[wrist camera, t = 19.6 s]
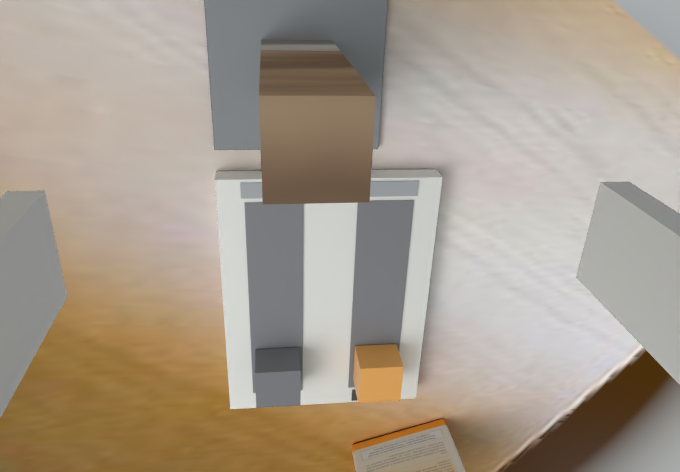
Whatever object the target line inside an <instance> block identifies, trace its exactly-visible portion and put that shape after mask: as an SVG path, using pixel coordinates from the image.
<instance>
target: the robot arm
mask: <svg viewBox="0 0 680 472" xmlns="http://www.w3.org/2000/svg"><path fill="white" fill-rule="evenodd" d="M576 278H577V279H578V280H579V281H580V282H581V283H582V284H583V285H584V286H585V287H586V288H587V289H588V290H589V291H590V292H591V293H592V294H593V295H594V296H595V297H596V298H597V299H598V300H599V301H600V302H601V303H602V305H603V306H604V307H605V308H606V309H607V310H608V311H609V312H610V313H611V314H612V315H613V316H614V317H615V318H616V319H617V320H618V321H619V322H620V323H621V324H622V325H623V326H624V327H625V328H626V329H627V331H628V332H629V333H630V334H631V335H632V336H633V337H634V338H635V339H636V340H637V341H638V342H639V343H640V344H641V345H642V346H643V347H644V348H645V349H646V350H647V351H648V352H649V353H650V354H651V355H652V356H653V358H654V359H655V360H656V361H657V362H658V363H659V364H660V365H661V366H662V367H663V368H664V369H665V370H666V371H667V372H668V373H669V374H670V375H671V376H672V377H673V378H674V379H675V380H676V381H677V382H678V383H679V385H680V214H679V213H678V212H676V211H674V210H673V209H671V208H670V207H668V206H667V205H665V204H663V203H662V202H660V201H659V200H657V199H655V198H654V197H652V196H651V195H649V194H648V193H646V192H644V191H643V190H641V189H640V188H638V187H637V186H635V185H633V184H632V183H630V182H601V183H600V186H599V190H598V194H597V198H596V202H595V206H594V210H593V214H592V217H591V221H590V225H589V229H588V233H587V237H586V241H585V245H584V248H583V252H582V256H581V260H580V264H579V268H578V272H577V276H576ZM66 298H67V292H66V287H65V283H64V278H63V274H62V269H61V264H60V260H59V255H58V250H57V246H56V241H55V236H54V232H53V227H52V223H51V218H50V213H49V209H48V204H47V199H46V195H45V191H7V192H6V193H5V194H4V195H3V196H2V197H1V198H0V417H1V416H2V414H3V412H4V410H5V408H6V407H7V405H8V403H9V401H10V399H11V398H12V396H13V394H14V392H15V390H16V389H17V387H18V385H19V383H20V381H21V379H22V378H23V376H24V374H25V372H26V370H27V369H28V367H29V365H30V363H31V361H32V360H33V358H34V356H35V354H36V352H37V351H38V349H39V347H40V345H41V343H42V341H43V340H44V338H45V336H46V334H47V332H48V331H49V329H50V327H51V325H52V323H53V322H54V320H55V318H56V316H57V314H58V313H59V311H60V309H61V307H62V305H63V303H64V302H65V300H66Z"/></svg>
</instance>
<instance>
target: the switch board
mask: <svg viewBox="0 0 680 472" xmlns="http://www.w3.org/2000/svg"><path fill="white" fill-rule="evenodd" d="M441 186H442V176H441V175H440V174H439V172H438V171H437V170H436V169H403V170H371V186H370V202H364V203H313V204H263V199H262V171H216V176H215V193H216V208H217V222H218V237H219V251H220V265H221V280H222V294H223V309H224V323H225V338H226V352H227V366H228V381H229V395H230V409H241V408H256V389H255V349H274V348H296V347H299V358H300V370H301V399H300V405H308V404H325V403H342V402H358V400H357V396H356V391H355V386H354V381H353V370H354V352H355V346H364V345H385V344H396V345H397V348H398V351H399V354H400V357H401V360H402V363H403V366H404V370H403V379H402V389H401V398H400V399H409V398H416V392H417V384H418V375H419V367H420V359H421V351H422V342H423V334H424V326H425V318H426V309H427V301H428V293H429V285H430V276H431V268H432V260H433V252H434V243H435V235H436V227H437V219H438V210H439V202H440V194H441Z"/></svg>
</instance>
